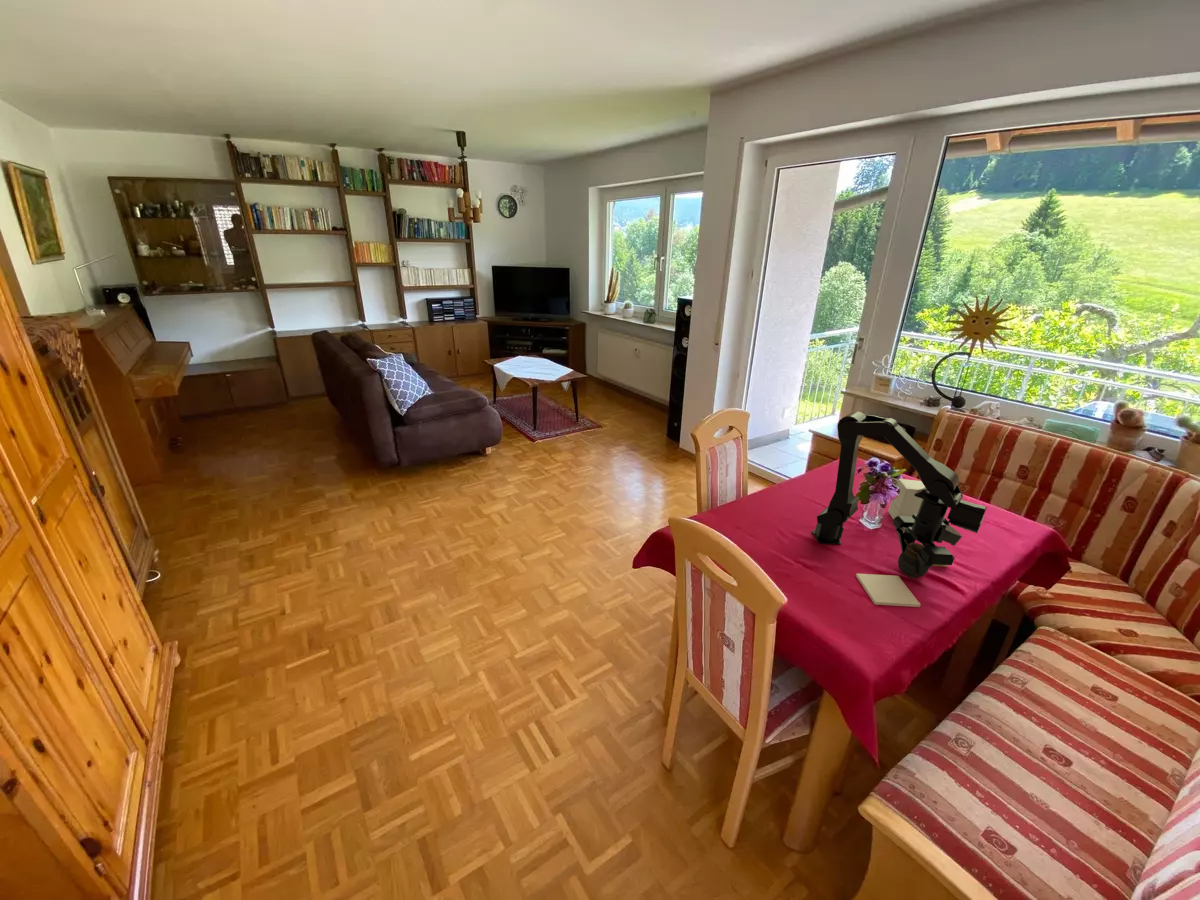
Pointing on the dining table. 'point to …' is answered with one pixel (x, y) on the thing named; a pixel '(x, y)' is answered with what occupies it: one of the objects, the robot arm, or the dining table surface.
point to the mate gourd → (910, 560)
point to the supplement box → (906, 499)
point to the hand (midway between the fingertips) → (912, 565)
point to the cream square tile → (887, 590)
